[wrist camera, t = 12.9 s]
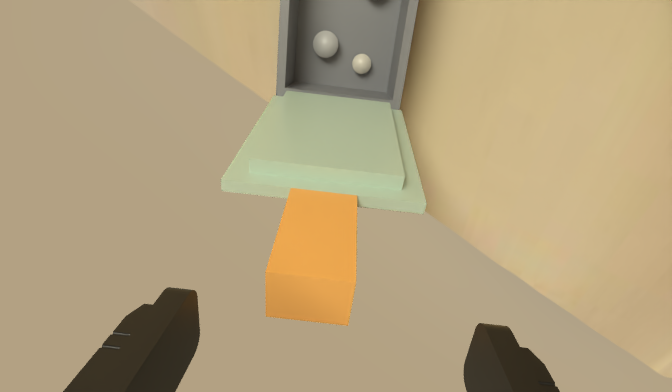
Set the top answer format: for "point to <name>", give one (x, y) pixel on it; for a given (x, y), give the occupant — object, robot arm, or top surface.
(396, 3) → the tub
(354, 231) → the lid
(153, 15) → the top surface
